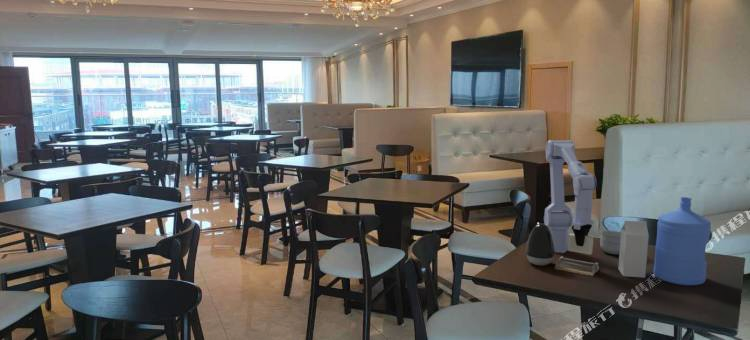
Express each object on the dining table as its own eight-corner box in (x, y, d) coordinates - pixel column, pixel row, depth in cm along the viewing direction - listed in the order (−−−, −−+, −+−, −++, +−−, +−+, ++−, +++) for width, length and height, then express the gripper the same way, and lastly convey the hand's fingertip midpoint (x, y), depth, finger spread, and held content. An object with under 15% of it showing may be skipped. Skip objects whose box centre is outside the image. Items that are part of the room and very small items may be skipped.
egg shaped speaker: (550, 259, 203) (552, 220, 201) (556, 268, 193) (559, 227, 190) (523, 258, 204) (524, 219, 202) (527, 267, 194) (529, 226, 191)
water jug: (678, 288, 174) (686, 204, 170) (642, 272, 189) (649, 194, 185) (716, 283, 178) (725, 201, 174) (678, 268, 193) (685, 192, 189)
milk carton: (645, 278, 183) (649, 224, 180) (623, 276, 185) (627, 223, 182) (639, 271, 190) (643, 219, 187) (618, 269, 192) (622, 218, 189)
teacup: (593, 250, 214) (594, 231, 213) (612, 247, 219) (614, 228, 218) (622, 260, 202) (623, 240, 201) (642, 256, 206) (643, 236, 205)
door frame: (562, 262, 200) (562, 255, 199) (598, 269, 192) (599, 261, 192) (554, 268, 192) (555, 261, 192) (592, 276, 185) (593, 268, 185)
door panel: (569, 249, 196) (570, 233, 195) (592, 253, 192) (593, 236, 191) (567, 250, 195) (568, 234, 194) (590, 254, 190) (591, 238, 189)
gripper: (589, 213, 182) (587, 251, 185) (599, 205, 194) (597, 241, 196) (568, 210, 186) (566, 248, 189) (579, 203, 198) (577, 238, 200)
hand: (580, 244), depth 193 cm, fingers closed on door panel, 2 cm apart
